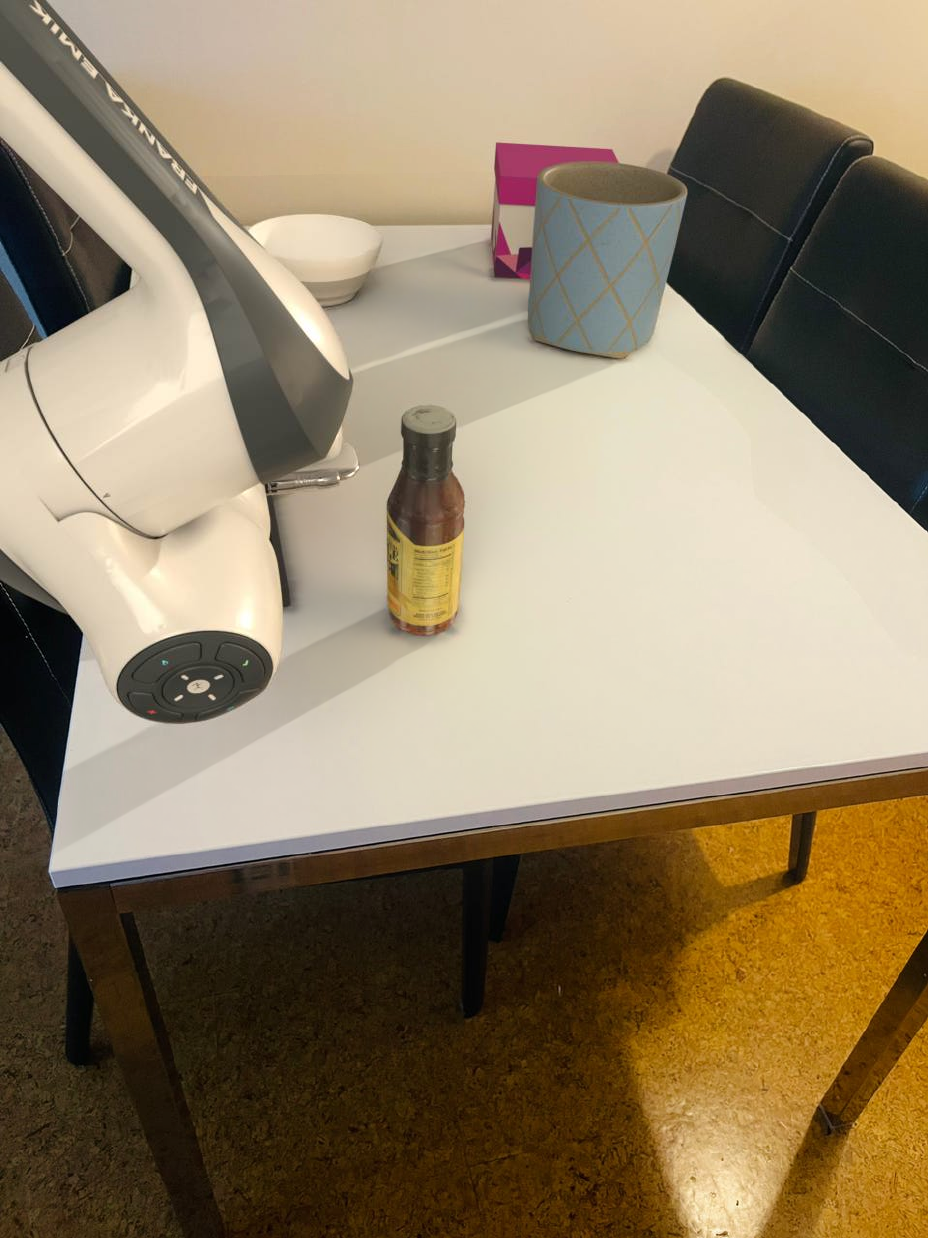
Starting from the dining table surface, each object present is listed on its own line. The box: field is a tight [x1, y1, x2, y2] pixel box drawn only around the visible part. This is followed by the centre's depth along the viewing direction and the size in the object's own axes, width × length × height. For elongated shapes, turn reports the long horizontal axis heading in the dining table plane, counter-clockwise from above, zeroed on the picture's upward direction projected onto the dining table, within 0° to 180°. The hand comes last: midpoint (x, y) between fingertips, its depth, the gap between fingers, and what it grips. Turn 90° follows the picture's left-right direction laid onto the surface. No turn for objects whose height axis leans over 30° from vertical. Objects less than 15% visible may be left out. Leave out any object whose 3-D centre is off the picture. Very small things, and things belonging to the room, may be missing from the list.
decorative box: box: [490, 142, 620, 280], centre depth 142 cm, size 19×19×15 cm
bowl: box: [246, 213, 384, 308], centre depth 129 cm, size 20×19×8 cm
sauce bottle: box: [386, 404, 466, 636], centre depth 71 cm, size 6×6×20 cm
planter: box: [527, 161, 688, 359], centre depth 119 cm, size 19×19×20 cm
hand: (182, 387), depth 62 cm, fingers closed on soda can, 5 cm apart
